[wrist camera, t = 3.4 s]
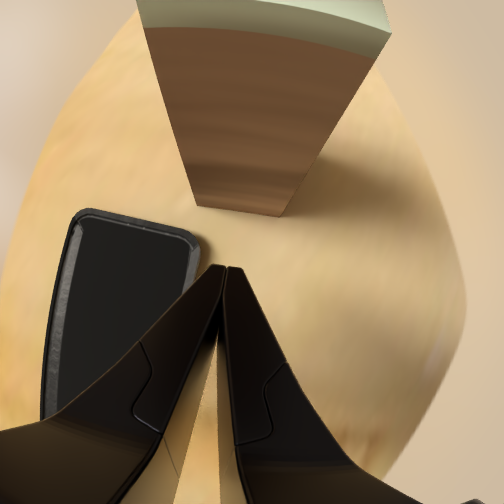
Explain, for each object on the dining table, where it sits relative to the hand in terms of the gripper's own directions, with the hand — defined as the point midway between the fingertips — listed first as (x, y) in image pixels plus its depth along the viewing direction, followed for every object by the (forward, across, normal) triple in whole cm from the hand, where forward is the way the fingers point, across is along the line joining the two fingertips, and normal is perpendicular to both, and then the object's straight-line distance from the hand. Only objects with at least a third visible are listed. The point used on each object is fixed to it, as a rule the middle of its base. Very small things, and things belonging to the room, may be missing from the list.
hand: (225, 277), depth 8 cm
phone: (+2, +6, +9) cm, 11 cm away
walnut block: (+10, 0, +1) cm, 10 cm away
